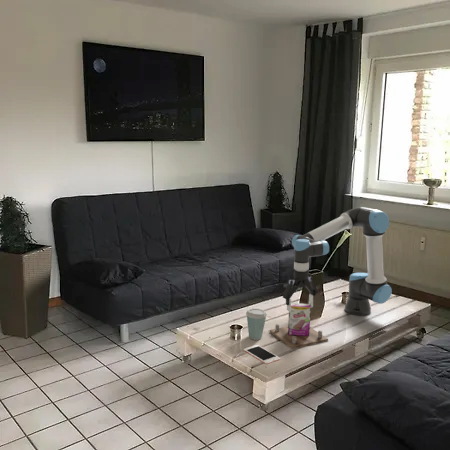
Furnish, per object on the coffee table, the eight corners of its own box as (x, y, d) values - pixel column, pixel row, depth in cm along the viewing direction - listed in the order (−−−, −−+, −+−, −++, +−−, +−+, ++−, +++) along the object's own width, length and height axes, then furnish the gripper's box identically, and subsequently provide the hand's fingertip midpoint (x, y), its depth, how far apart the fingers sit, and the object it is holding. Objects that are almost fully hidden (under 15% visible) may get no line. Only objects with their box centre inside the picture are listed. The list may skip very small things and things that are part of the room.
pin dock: (303, 325, 278) (304, 317, 277) (328, 341, 258) (328, 332, 257) (269, 332, 268) (269, 323, 267) (292, 348, 249) (292, 340, 248)
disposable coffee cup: (253, 331, 269) (254, 305, 266) (270, 337, 262) (271, 310, 259) (241, 338, 261) (242, 310, 258) (258, 343, 254) (259, 316, 251)
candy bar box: (287, 335, 261) (289, 305, 258) (287, 331, 266) (288, 302, 263) (309, 336, 260) (311, 306, 257) (309, 332, 265) (310, 303, 262)
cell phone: (266, 365, 233) (266, 363, 233) (243, 350, 247) (243, 348, 247) (280, 360, 238) (280, 358, 238) (256, 346, 252) (257, 344, 252)
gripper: (316, 264, 264) (315, 302, 269) (276, 270, 254) (275, 310, 258) (325, 268, 258) (323, 307, 262) (284, 274, 247) (283, 315, 252)
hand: (299, 308), depth 260 cm, fingers open, 13 cm apart
